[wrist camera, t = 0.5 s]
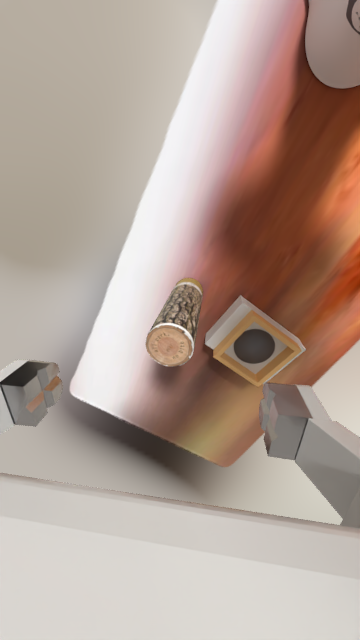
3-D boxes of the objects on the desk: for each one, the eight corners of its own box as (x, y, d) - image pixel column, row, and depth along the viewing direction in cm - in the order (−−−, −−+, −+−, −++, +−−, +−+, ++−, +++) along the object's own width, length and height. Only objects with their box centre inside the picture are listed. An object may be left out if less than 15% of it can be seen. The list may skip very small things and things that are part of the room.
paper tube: (169, 293, 55) (136, 348, 33) (186, 271, 52) (163, 314, 30) (191, 310, 56) (174, 374, 34) (209, 289, 53) (204, 344, 31)
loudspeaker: (240, 295, 53) (244, 308, 46) (298, 338, 55) (310, 357, 48) (205, 333, 58) (204, 350, 51) (260, 371, 61) (266, 393, 54)
